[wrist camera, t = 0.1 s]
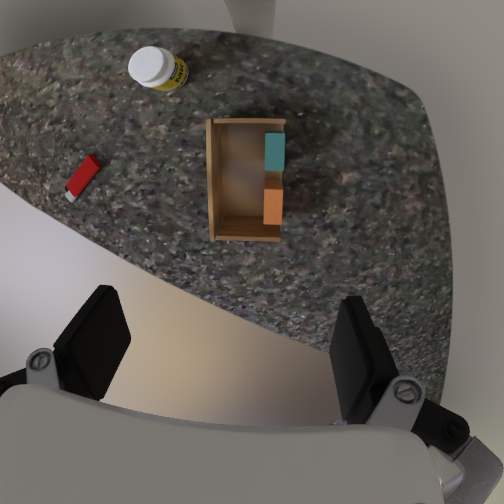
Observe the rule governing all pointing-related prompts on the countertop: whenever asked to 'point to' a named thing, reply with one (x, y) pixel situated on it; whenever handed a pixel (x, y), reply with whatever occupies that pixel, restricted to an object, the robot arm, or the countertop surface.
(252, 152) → the wooden crate
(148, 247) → the countertop surface
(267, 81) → the countertop surface
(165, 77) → the supplement bottle
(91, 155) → the lighter
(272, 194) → the block
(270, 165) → the block
